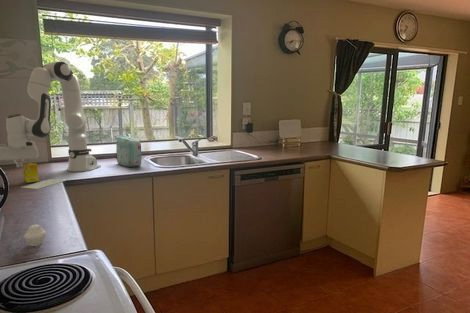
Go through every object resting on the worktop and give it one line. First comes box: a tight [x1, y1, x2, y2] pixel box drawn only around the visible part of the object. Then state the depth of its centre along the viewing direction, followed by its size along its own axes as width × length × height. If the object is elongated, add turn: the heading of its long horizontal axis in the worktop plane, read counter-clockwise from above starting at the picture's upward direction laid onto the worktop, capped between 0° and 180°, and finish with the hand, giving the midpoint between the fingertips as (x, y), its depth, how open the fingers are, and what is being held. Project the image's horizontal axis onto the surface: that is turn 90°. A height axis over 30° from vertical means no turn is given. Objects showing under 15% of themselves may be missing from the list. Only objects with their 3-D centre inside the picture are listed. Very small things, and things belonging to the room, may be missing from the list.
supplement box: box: [22, 162, 40, 185], centre depth 191 cm, size 6×6×11 cm
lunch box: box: [115, 135, 142, 168], centre depth 243 cm, size 27×10×21 cm, turn 42°
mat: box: [20, 178, 66, 190], centre depth 188 cm, size 20×11×1 cm, turn 163°
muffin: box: [24, 224, 47, 247], centre depth 109 cm, size 6×6×7 cm
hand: (19, 166), depth 192 cm, fingers closed
